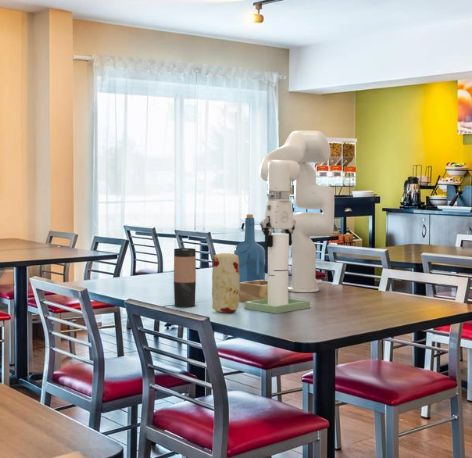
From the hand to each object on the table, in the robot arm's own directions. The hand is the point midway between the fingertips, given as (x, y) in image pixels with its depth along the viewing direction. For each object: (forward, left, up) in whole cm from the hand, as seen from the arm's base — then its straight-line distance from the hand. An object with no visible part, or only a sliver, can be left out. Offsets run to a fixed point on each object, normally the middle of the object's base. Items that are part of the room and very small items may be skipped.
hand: (278, 245), depth 270 cm
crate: (-6, -14, -22) cm, 26 cm away
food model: (+19, -6, -22) cm, 30 cm away
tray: (0, 0, -22) cm, 22 cm away
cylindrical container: (0, 0, -21) cm, 21 cm away
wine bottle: (-34, -48, -22) cm, 63 cm away
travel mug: (+20, -26, -22) cm, 39 cm away
